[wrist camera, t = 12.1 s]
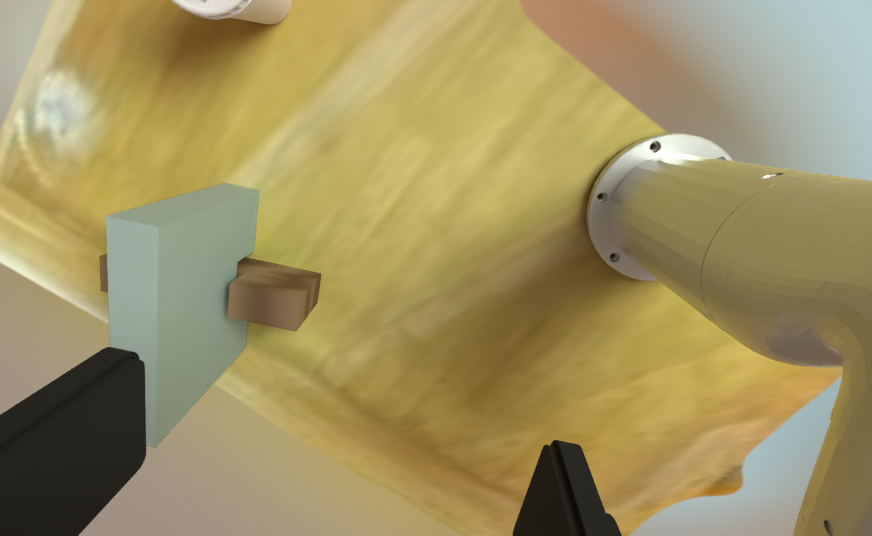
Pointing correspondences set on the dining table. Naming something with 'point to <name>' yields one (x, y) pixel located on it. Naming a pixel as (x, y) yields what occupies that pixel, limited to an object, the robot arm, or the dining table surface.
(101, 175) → the dining table surface
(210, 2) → the smoothie
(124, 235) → the cross plate
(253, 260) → the brown long block
